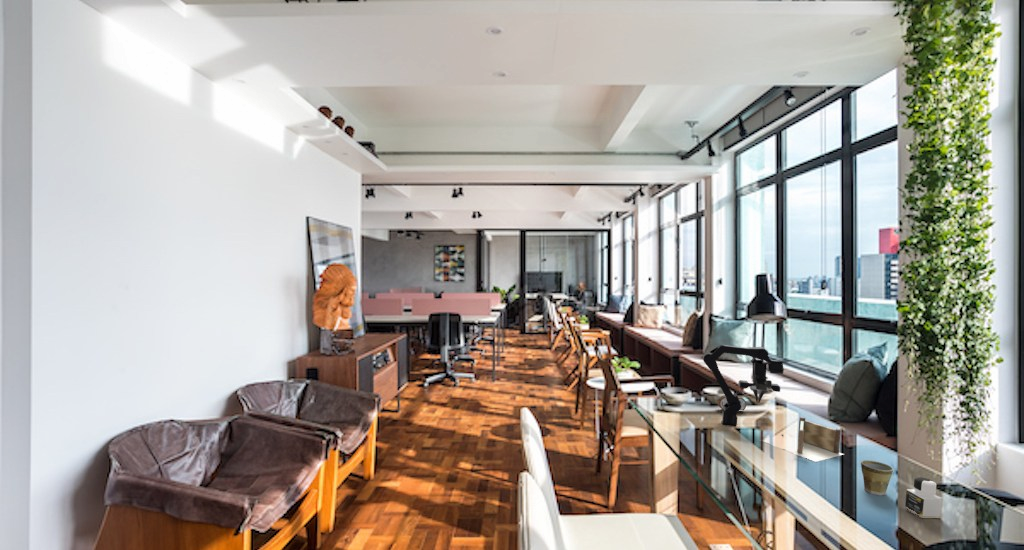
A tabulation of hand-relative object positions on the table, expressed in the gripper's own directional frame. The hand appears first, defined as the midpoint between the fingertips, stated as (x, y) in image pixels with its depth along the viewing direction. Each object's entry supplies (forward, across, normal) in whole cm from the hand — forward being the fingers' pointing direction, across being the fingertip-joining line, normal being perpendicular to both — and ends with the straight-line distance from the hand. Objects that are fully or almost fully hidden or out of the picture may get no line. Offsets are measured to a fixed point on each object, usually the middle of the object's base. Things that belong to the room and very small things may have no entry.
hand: (757, 402), depth 269 cm
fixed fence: (+13, +23, -19) cm, 33 cm away
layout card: (+13, +15, -23) cm, 30 cm away
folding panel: (+12, +15, -24) cm, 31 cm away
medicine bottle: (+13, +40, -79) cm, 89 cm away
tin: (+13, -8, +28) cm, 32 cm away
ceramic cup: (+13, +31, -63) cm, 71 cm away
